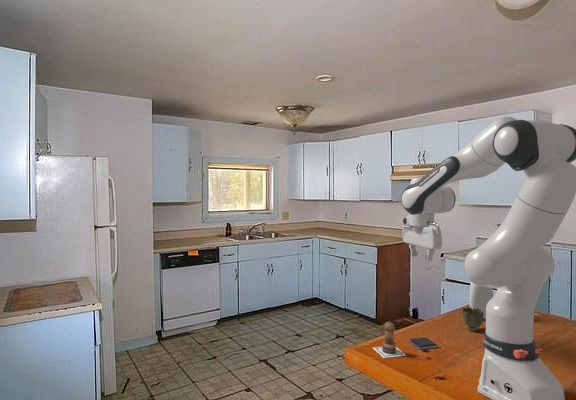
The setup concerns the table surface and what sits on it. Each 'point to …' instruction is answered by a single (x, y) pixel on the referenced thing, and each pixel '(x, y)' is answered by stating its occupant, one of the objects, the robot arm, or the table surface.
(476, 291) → the soap bottle
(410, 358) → the table surface
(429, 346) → the ink pad
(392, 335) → the stamp
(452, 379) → the table surface
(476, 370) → the table surface
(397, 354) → the white flat square plate
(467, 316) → the cup
